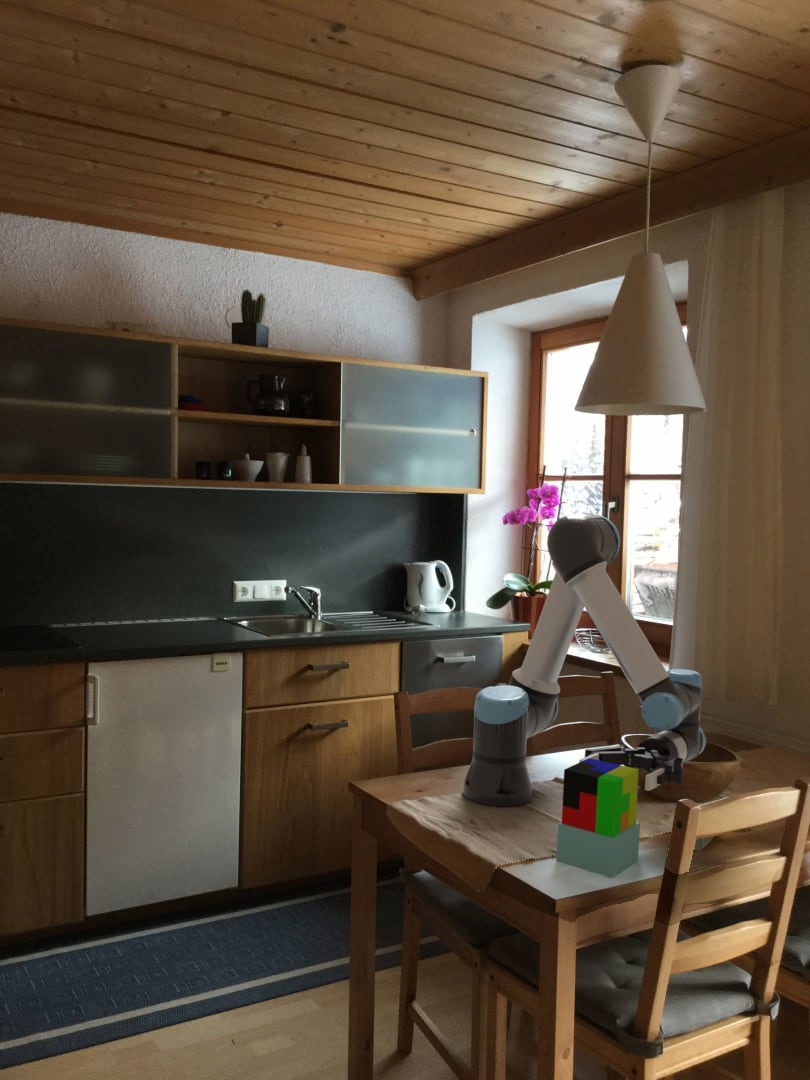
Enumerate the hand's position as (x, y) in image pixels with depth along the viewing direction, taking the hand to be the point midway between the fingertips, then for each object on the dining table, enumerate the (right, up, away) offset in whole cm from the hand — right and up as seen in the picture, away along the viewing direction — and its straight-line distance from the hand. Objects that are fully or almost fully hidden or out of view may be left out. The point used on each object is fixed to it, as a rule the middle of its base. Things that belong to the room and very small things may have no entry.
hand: (613, 775), depth 175 cm
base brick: (-4, -15, -3) cm, 16 cm away
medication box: (+20, -16, +9) cm, 27 cm away
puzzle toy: (-3, -8, -3) cm, 9 cm away
